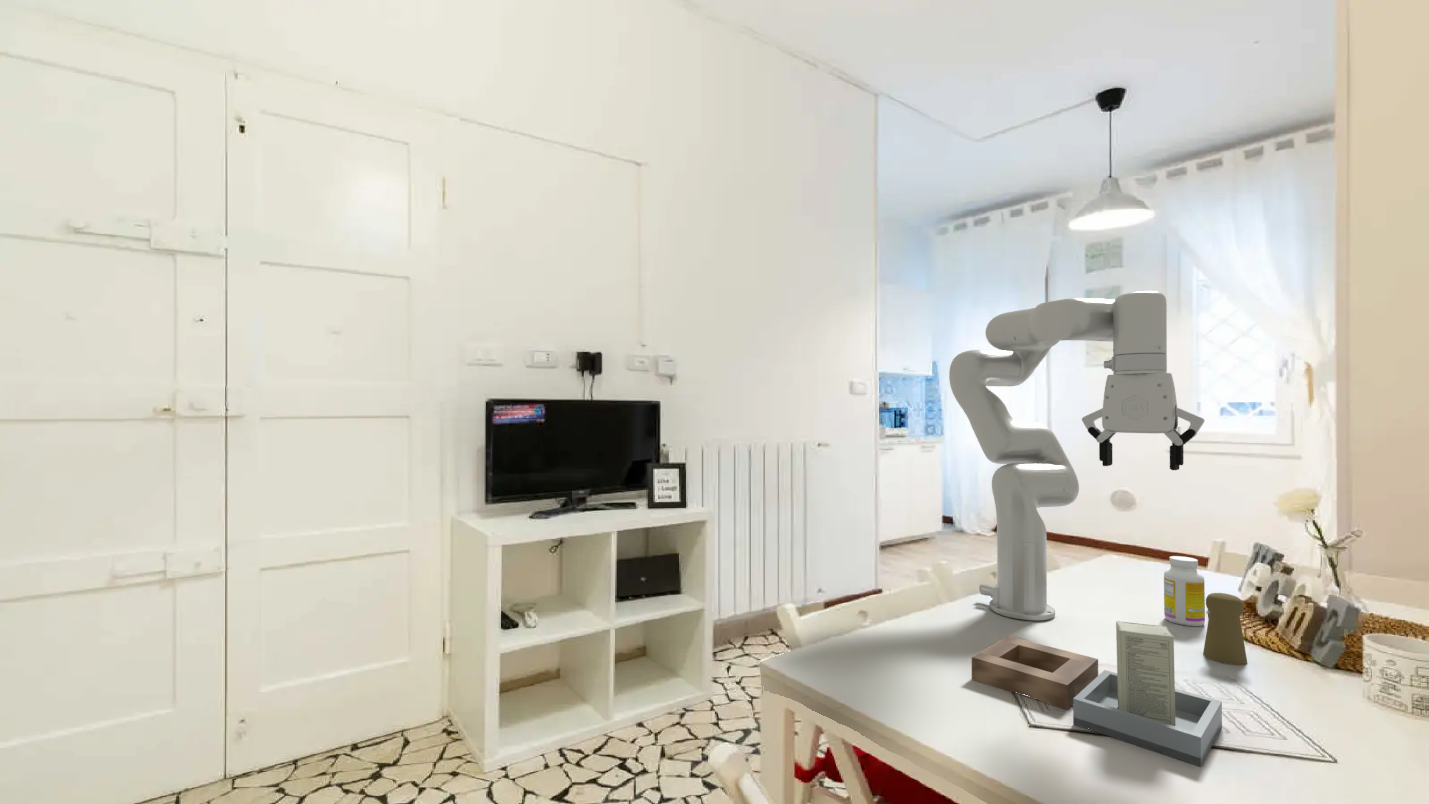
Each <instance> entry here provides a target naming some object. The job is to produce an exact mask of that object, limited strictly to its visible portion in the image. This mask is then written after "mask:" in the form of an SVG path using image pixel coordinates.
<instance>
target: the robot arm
mask: <svg viewBox="0 0 1429 804" xmlns="http://www.w3.org/2000/svg"><path fill="white" fill-rule="evenodd" d="M1167 306H1168V305H1167V297H1166V296H1165V295H1164V294H1163V293H1161V292H1159V291H1155V290H1153V291H1152V290H1151V291H1150V290H1149V291H1148V290H1147V291H1145V290H1144V291H1134V292H1127V293H1124V294H1121V295H1118V296H1117V297H1116V298H1115V299H1106V298H1089V297H1088V298H1085V297H1084V298H1083V297H1082V298H1081V297H1077V298H1076V297H1074V298H1073V297H1072V298H1070V297H1069V298H1063V299H1057V300H1052V301H1051V300H1050V301H1047V302H1046V301H1045V302H1042V303H1039V304H1037V305H1036V307H1032V308H1027V309H1021V310H1014V311H1008V312H1004V313H1000V314H998V315H996V316H995V317H993V318H992V319H990V320H989V322H988V323H987V325H986V328H985V338H986V340H987V342H988V343H989V344H990V345H991V346H992V347H994V348H996V349H971V350H966V351H963V352H961V353H958V354H957V355H956V356H955V357H953V359H952V361H951V363H950V365H949V372H948V374H949V376H948V379H949V380H948V381H949V386H950V389H951V392H952V395H953V396H954V398H955V400H956V402H957V403H958V405H959V407H960V408H961V409H962V411H963V413H964V414H965V416H966V417H967V419H968V421H969V424H970V426H971V428H972V430H973V433H974V435H975V438H976V439H977V442H978V444H979V445H980V449H981V450H982V452H983V454H984V456H985V457H986V459H987V460H989V462H991V463H993V464H999V465H1001V466H1000V467H998V468H997V469H996V470H995V471H994V473H993V475H992V479H991V490H992V495H993V500H994V506H995V513H996V566H997V567H996V572H997V573H996V583H997V584H996V585H994V586H992V585H990V584H985V583H980V584H979V590H978V591H979V594H980V595H983V596H989V597H990V598H992V599H991V600H990V601H989V603H988V604H989V605H988V606H989V609H990V610H991V611H992V610H993V611H992V612H994V611H995V612H994V613H996V614H998V615H1000V616H1004V617H1007V618H1011V619H1016V620H1024V621H1046V620H1052V619H1054V618H1055V616H1056V610H1055V609H1054V608H1053V606H1051V605H1049V604H1047V602H1048V601H1047V600H1048V599H1047V598H1048V596H1047V594H1048V593H1047V592H1048V591H1047V585H1048V584H1047V575H1048V574H1047V573H1048V572H1047V567H1048V566H1047V561H1048V560H1047V558H1048V557H1047V555H1048V554H1047V549H1048V548H1047V537H1048V536H1047V528H1046V525H1045V523H1044V520H1043V518H1042V517H1041V515H1040V514H1039V511H1038V510H1037V509H1038V508H1054V507H1055V508H1057V507H1064V506H1069V505H1071V504H1073V503H1074V502H1075V501H1076V500H1077V498H1078V495H1079V492H1080V484H1079V480H1078V477H1077V474H1076V472H1075V470H1074V467H1073V466H1072V464H1071V462H1070V460H1069V458H1068V456H1067V454H1066V453H1065V451H1064V449H1063V447H1062V446H1061V444H1060V441H1059V440H1058V438H1057V436H1056V434H1055V433H1054V432H1053V431H1052V430H1051V429H1050V428H1049V427H1048V426H1047V425H1045V424H1043V423H1040V422H1036V421H1019V420H1015V419H1014V418H1013V417H1012V416H1011V414H1010V413H1009V410H1008V408H1007V406H1006V405H1005V403H1004V402H1003V400H1002V399H1001V398H1000V397H999V396H998V395H996V394H995V393H994V392H992V390H990V389H989V388H988V387H1017V386H1020V385H1022V384H1024V383H1025V382H1026V381H1027V380H1028V379H1029V378H1030V377H1031V376H1032V374H1033V372H1034V371H1036V368H1037V367H1038V366H1039V365H1040V363H1041V362H1043V360H1044V358H1045V357H1046V356H1047V354H1049V352H1050V350H1051V348H1053V346H1056V345H1057V344H1058V343H1059V342H1061V341H1086V342H1087V341H1090V342H1091V341H1092V342H1093V341H1094V342H1112V347H1113V348H1112V351H1113V353H1112V354H1113V356H1111V359H1109V360H1104V361H1103V368H1104V369H1109V370H1111V372H1113V373H1112V374H1108V375H1107V377H1106V381H1105V387H1104V393H1103V401H1102V408H1100V409H1098V410H1095V411H1093V412H1091V413H1089V414H1087V415H1085V416H1083V417H1081V421H1082V423H1083V425H1084V427H1085V428H1086V429H1087V432H1088V433H1089V435H1091V437H1093V438H1094V439H1095V440H1096V442H1097V443H1099V446H1098V447H1099V450H1098V455H1099V456H1098V457H1099V458H1098V459H1099V462H1102V466H1103V467H1109V466H1112V465H1113V443H1112V442H1111V439H1112V438H1114V436H1115V435H1116V434H1117V433H1118V434H1119V433H1123V434H1124V433H1126V434H1127V433H1128V434H1164V435H1165V436H1166V438H1168V440H1170V441H1171V445H1170V446H1169V470H1171V471H1177V470H1180V466H1183V465H1184V445H1186V444H1187V443H1188V442H1189V441H1190V440H1192V439H1193V438H1194V437H1196V436H1197V434H1198V432H1199V431H1200V429H1201V428H1202V426H1203V425H1204V423H1205V419H1204V418H1203V417H1200V416H1199V415H1196V414H1194V413H1191V412H1189V411H1186V410H1184V409H1182V408H1179V407H1178V403H1177V392H1176V387H1175V382H1174V378H1173V374H1172V373H1171V372H1168V362H1167V361H1168V355H1167V345H1168V344H1167V341H1168V340H1167V338H1168V337H1167V335H1168V333H1167V331H1168V329H1167V328H1168V327H1167V323H1168V322H1167V319H1168V318H1167V317H1168V316H1167ZM1179 418H1180V419H1182V420H1185V421H1186V422H1189V423H1190V425H1188V426H1189V427H1188V428H1187V430H1185V431H1184V432H1182V433H1180V432H1179V431H1178V430H1177V429H1178V425H1179ZM1099 419H1101V423H1102V424H1101V426H1102V428H1103V430H1102V431H1101V429H1099V428H1098V427H1097V426H1096V424H1095V422H1096V420H1099Z"/></svg>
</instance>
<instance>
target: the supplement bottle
mask: <svg viewBox="0 0 1429 804" xmlns="http://www.w3.org/2000/svg"><path fill="white" fill-rule="evenodd" d="M1168 559H1169V565H1170V567H1169V568H1167V569H1166V570H1165V571H1164V573H1163V600H1164V601H1163V609H1164V610H1163V613H1164V617H1165V619H1166V620H1167V621H1168V622H1171V623H1174V624H1177V625H1181V626H1187V627H1188V626H1189V627H1201V626H1203V625H1205V623H1206V609H1205V608H1206V607H1205V606H1206V597H1205V577H1204V575H1203V574H1202V573H1201V572H1199V571H1198V566H1199V559H1197V558H1194V557H1190V556H1189V557H1188V556H1182V555H1181V556H1180V555H1172V556H1169V558H1168Z"/></svg>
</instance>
